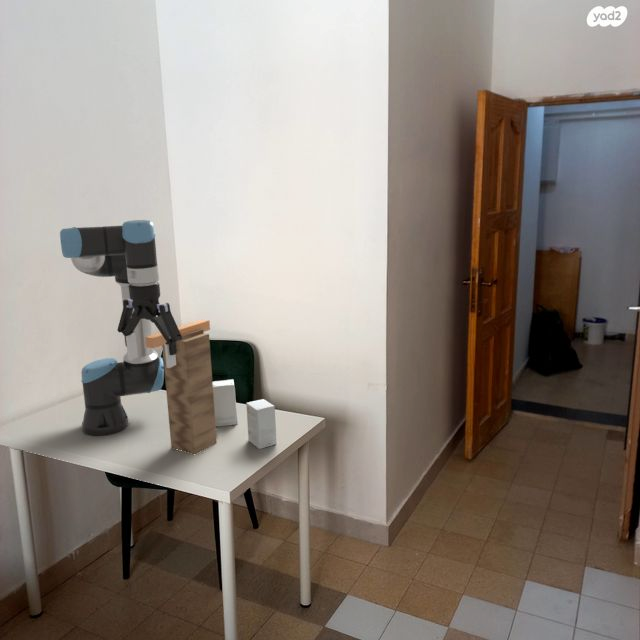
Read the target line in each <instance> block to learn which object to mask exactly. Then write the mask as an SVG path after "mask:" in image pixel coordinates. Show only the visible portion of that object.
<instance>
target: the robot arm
mask: <svg viewBox="0 0 640 640" xmlns="http://www.w3.org/2000/svg"><path fill="white" fill-rule="evenodd" d="M154 228H155V226H154V222H153V221H151V220H147V219H135V220H134V219H133V220H128V221H127V220H126V221H124V222H123V223H122V225H111V226H110V225H109V226H108V225H107V226H106V225H105V226H89V227H88V226H87V227H85V226H83V227H76V226H74V227H70V228H69V227H68V228H62V229H61V230H59V231H60V232H59V238H60V246H61V247H60V248H61V253H62V257H64V258H65V259H71V262H72V264H73V266H74V267H75V269H77V270H78V271H80V272H81V273H84V274H86V275H88V276H93V277H98V278H110V277H114V280H115V282H116V284H118V285H119V286H120V292H121V300H122V302H121V303H122V312H121V314H120V315H121V316H120V319H119V322H118V327H117V332H118V333H121V334H122V335H123V336H124V345H125V347H126V351H127V352H126V353H125V354H124V355H123V358H122V359H123V361H121V362H118V360H117V359H116V358H114V357H112V358H111V357H109V358H101V359H97V360H94V361H91V362H89V363H87V364H86V365H85V366H83V367H82V369H81V381H80V382H81V383H82V391H83V397H84V398H83V399H84V408H85V409H84V413H83V420H82V422H81V427H82V428H81V429H82V432H83V433H84V434H85V435H89V436H107V435H112V434H115V433H118V432H120V431H123V430H125V429H126V428H127V427H128V426H129V415H127V412H126V411H125V408H124V406H123V405H122V398H121V397H126V396H127V397H128V396H132V395H133V396H134V395H140V394H151V393H152V392H154V393H155V392H158V391H160V390H161V389H162V387H163V385H164V379H165V370H164V359H163V357H161V356H159V353H158V352H157V351H156V350H154V348H149V347H146V341H145V337H146V336H150V335H153V330H152V323H153V324H154V325H155V327H156V328H157V329H158V331H159V333H161V334H162V336H163V337H164V339H165V340H166V341H167V342H166V343H164V344H165V354H166V365H167V368H171V367H173V366H175V365H176V355H175V354H176V353H177V349H176V341H179V340H181V339H182V336H181V333H180V331H179V329H178V327H179V326H178V325H177V322H176V321H175V319H174V315H173V314H172V311H171V306H170V303H168V302H165V303H160V301H159V300H160V297H161V287H160V283H159V282H158V281H159V280H160V276H159V267H158V261H157V259H158V258H157V247H156V246H157V245H156V232H155V229H154ZM170 337H171V338H170Z"/></svg>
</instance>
